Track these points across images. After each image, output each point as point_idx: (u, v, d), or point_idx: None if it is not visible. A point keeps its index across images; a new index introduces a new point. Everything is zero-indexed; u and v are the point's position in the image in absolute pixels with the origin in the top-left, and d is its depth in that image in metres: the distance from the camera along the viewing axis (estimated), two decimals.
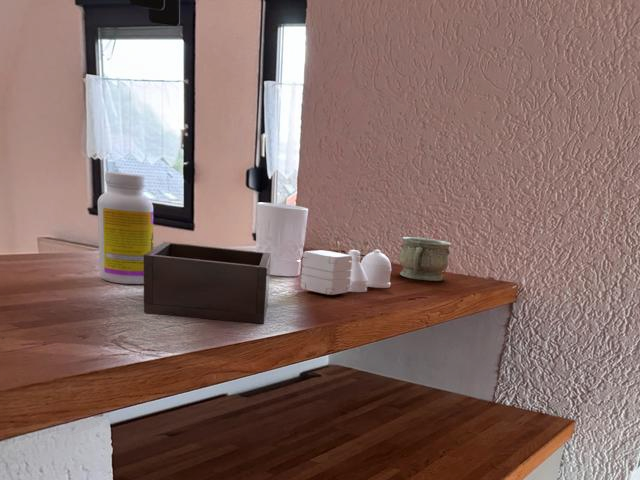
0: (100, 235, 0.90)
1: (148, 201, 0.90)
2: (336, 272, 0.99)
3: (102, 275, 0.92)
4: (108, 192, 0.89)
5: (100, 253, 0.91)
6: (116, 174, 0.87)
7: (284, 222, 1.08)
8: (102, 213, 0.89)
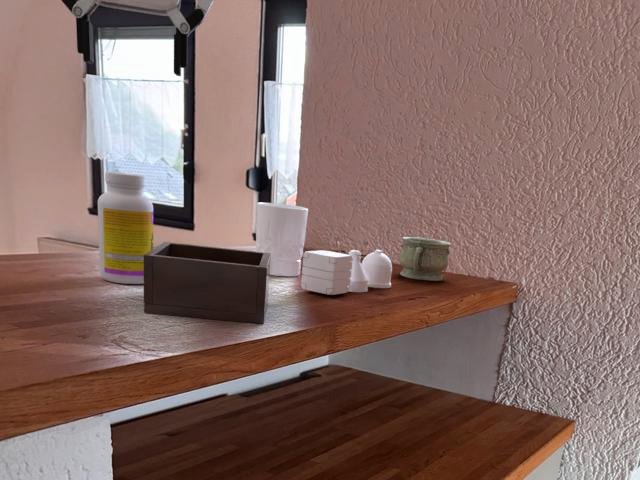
0: (100, 235, 0.90)
1: (148, 201, 0.90)
2: (336, 272, 0.99)
3: (102, 275, 0.92)
4: (108, 192, 0.89)
5: (100, 253, 0.91)
6: (116, 174, 0.87)
7: (284, 222, 1.08)
8: (102, 213, 0.89)
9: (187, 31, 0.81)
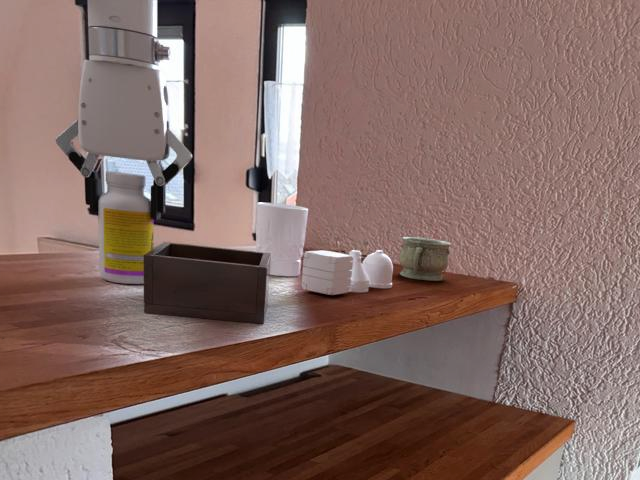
0: (100, 235, 0.90)
1: (148, 201, 0.90)
2: (337, 272, 0.99)
3: (102, 275, 0.92)
4: (108, 192, 0.89)
5: (100, 253, 0.91)
6: (116, 174, 0.87)
7: (284, 222, 1.08)
8: (103, 213, 0.89)
9: (162, 184, 0.89)
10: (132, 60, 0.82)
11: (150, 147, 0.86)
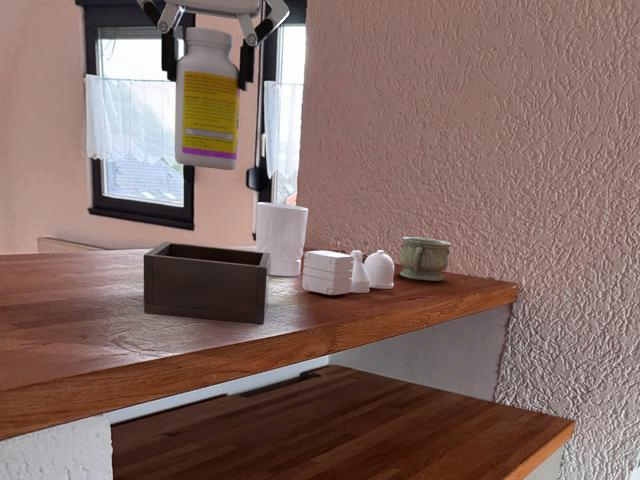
0: (178, 107, 0.76)
1: (236, 67, 0.76)
2: (337, 272, 0.99)
3: (179, 157, 0.77)
4: (190, 53, 0.74)
5: (177, 130, 0.77)
6: (201, 29, 0.73)
7: (284, 222, 1.08)
8: (183, 78, 0.74)
9: (254, 44, 0.74)
10: None
11: None
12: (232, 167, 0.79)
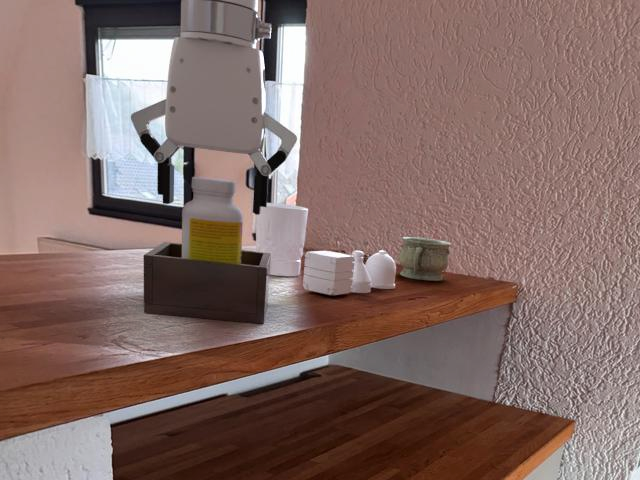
0: (184, 248, 0.80)
1: (238, 210, 0.80)
2: (338, 272, 0.99)
3: None
4: (195, 200, 0.79)
5: None
6: (206, 180, 0.77)
7: (284, 222, 1.08)
8: (189, 224, 0.79)
9: (268, 173, 0.78)
10: (232, 38, 0.71)
11: (246, 138, 0.76)
12: None
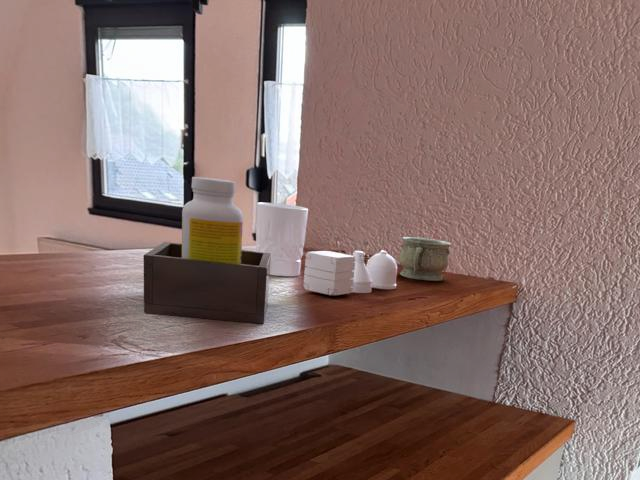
0: (184, 248, 0.80)
1: (238, 210, 0.80)
2: (338, 272, 0.99)
3: None
4: (195, 200, 0.79)
5: None
6: (206, 180, 0.77)
7: (284, 222, 1.08)
8: (189, 224, 0.79)
9: None
10: None
11: None
12: None
